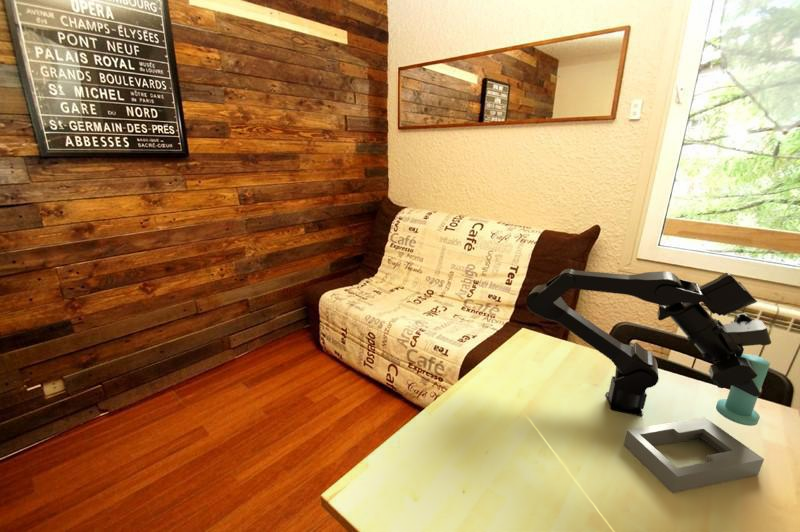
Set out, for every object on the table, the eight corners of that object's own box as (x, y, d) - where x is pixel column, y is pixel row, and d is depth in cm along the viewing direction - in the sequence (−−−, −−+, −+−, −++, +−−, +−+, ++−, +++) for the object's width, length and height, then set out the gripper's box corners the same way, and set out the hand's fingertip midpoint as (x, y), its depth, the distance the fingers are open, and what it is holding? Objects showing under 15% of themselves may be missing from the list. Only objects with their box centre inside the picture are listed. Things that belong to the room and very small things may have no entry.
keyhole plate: (672, 493, 62) (677, 476, 61) (623, 444, 72) (627, 429, 71) (757, 474, 66) (764, 459, 64) (699, 431, 76) (704, 416, 75)
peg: (725, 421, 71) (744, 365, 67) (710, 401, 76) (726, 348, 72) (765, 429, 69) (787, 371, 65) (746, 407, 74) (766, 353, 70)
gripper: (756, 325, 60) (828, 403, 58) (733, 291, 75) (789, 351, 72) (687, 352, 66) (748, 423, 64) (678, 315, 81) (728, 372, 79)
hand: (755, 389), depth 70 cm, fingers closed on peg, 4 cm apart
